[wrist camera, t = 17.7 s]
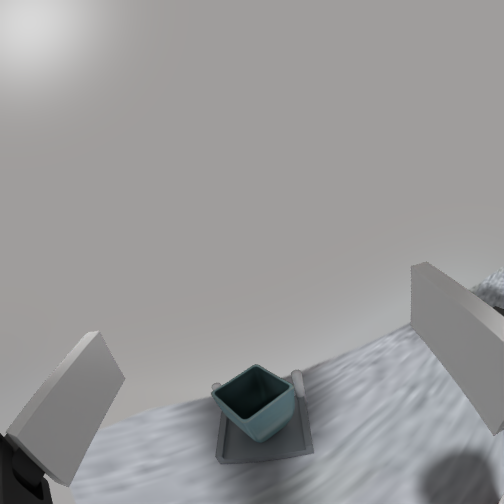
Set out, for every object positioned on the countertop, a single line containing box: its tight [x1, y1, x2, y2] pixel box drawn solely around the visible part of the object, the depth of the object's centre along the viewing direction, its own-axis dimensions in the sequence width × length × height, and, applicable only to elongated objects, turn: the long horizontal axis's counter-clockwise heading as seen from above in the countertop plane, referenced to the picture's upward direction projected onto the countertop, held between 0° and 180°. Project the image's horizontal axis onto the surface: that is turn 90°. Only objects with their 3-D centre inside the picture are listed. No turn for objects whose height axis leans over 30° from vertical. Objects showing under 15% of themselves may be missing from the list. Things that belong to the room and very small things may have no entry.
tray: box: [212, 370, 314, 464], centre depth 38 cm, size 15×12×8 cm
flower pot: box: [211, 364, 295, 443], centre depth 37 cm, size 9×9×9 cm
